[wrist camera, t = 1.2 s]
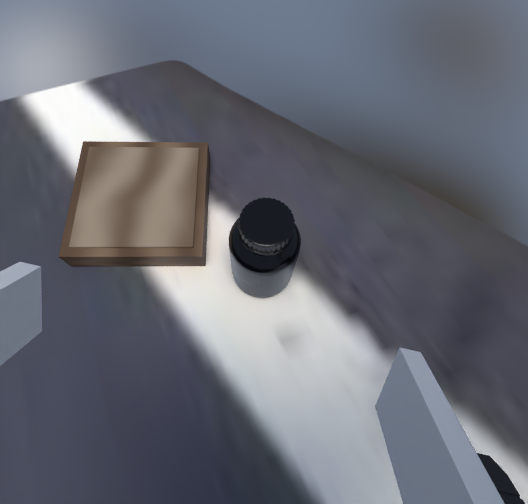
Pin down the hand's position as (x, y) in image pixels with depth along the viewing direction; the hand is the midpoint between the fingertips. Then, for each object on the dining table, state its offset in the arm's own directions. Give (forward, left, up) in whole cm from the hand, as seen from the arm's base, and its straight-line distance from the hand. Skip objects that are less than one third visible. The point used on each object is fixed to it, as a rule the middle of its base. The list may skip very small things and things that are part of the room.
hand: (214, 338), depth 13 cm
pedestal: (+11, -20, -25) cm, 34 cm away
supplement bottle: (-3, -11, -26) cm, 28 cm away
